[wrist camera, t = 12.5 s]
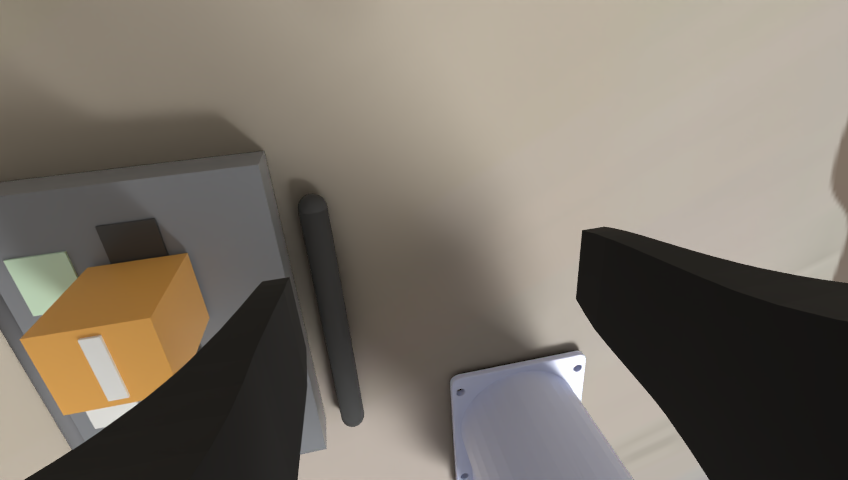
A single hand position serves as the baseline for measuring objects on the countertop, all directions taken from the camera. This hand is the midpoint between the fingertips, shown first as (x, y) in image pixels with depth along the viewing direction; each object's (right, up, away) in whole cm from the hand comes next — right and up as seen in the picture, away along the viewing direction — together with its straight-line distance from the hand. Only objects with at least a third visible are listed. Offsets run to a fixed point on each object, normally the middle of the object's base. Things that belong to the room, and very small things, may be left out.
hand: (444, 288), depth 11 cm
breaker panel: (-11, -3, +10) cm, 15 cm away
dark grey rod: (-5, -3, +11) cm, 13 cm away
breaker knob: (-11, -1, +7) cm, 13 cm away
